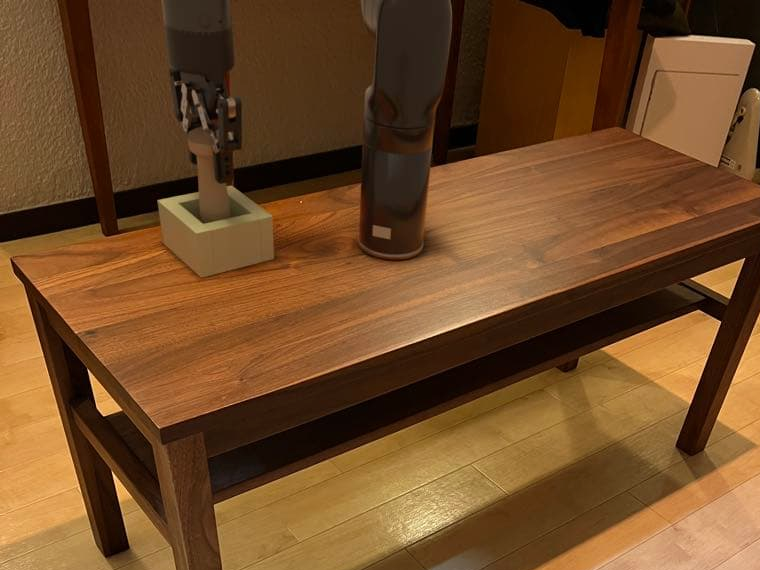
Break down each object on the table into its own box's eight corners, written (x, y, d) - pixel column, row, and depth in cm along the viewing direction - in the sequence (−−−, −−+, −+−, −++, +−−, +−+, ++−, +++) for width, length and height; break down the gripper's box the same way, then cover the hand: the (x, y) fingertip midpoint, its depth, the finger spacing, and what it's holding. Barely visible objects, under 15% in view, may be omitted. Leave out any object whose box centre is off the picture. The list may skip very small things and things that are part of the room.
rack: (234, 227, 115) (231, 185, 111) (274, 259, 109) (272, 215, 105) (163, 243, 110) (157, 200, 105) (201, 278, 104) (196, 233, 100)
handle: (198, 262, 107) (185, 144, 96) (202, 240, 111) (190, 125, 101) (235, 263, 107) (226, 146, 97) (237, 241, 112) (229, 127, 101)
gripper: (259, 33, 88) (266, 187, 100) (198, 1, 96) (211, 148, 107) (197, 40, 84) (211, 198, 96) (138, 6, 92) (158, 157, 104)
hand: (211, 171), depth 102 cm, fingers closed on handle, 6 cm apart
